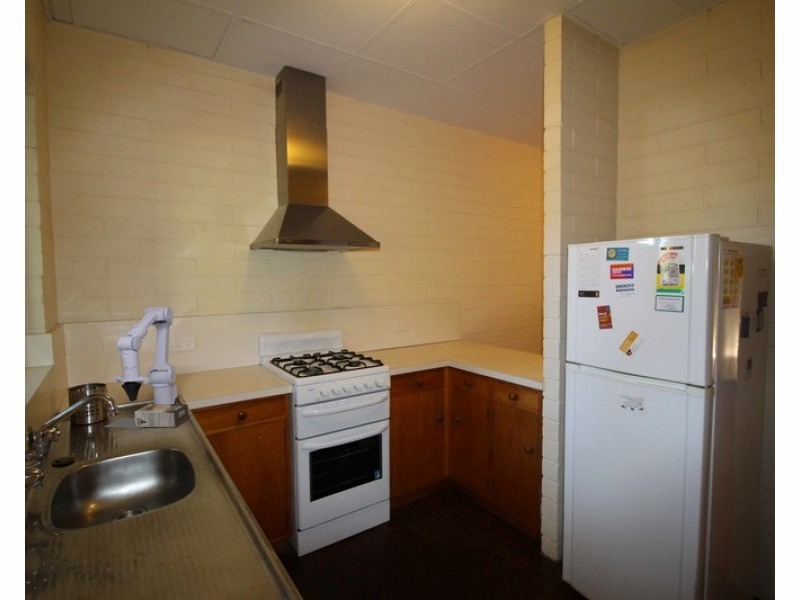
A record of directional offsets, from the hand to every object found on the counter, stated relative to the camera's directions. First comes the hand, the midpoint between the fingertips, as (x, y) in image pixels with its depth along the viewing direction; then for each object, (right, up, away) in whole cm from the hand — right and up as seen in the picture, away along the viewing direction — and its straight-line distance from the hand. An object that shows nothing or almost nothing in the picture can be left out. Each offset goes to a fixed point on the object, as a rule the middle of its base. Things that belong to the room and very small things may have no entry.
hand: (133, 400), depth 162 cm
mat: (-1, -9, +1) cm, 10 cm away
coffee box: (+3, -6, 0) cm, 7 cm away
